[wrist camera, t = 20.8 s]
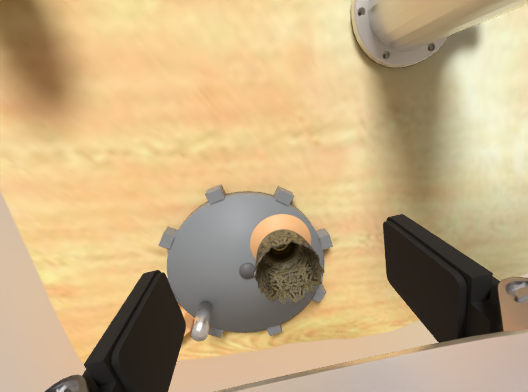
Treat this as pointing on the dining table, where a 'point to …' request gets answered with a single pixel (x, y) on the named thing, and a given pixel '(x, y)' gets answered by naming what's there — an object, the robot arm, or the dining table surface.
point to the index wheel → (234, 261)
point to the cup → (287, 267)
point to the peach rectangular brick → (188, 322)
